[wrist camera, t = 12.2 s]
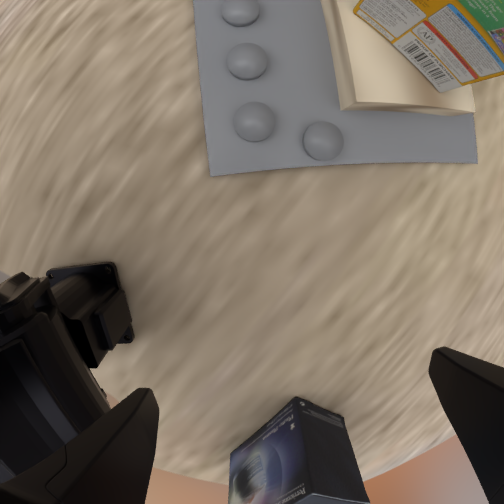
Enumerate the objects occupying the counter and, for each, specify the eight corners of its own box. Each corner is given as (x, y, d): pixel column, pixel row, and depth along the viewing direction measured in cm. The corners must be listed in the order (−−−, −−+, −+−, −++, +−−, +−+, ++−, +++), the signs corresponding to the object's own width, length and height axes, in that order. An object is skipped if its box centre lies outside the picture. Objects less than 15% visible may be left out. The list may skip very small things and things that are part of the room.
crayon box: (457, 68, 14) (594, 31, 3) (440, 94, 14) (592, 64, 3) (373, -11, 12) (469, -114, 1) (350, 11, 13) (449, -107, 2)
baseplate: (212, 176, 19) (209, 177, 18) (194, -7, 16) (190, -19, 14) (470, 163, 19) (484, 164, 18) (440, 7, 16) (451, 0, 14)
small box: (292, 392, 24) (312, 493, 14) (345, 415, 25) (376, 503, 15) (225, 452, 26) (222, 539, 16) (276, 470, 28) (285, 548, 17)
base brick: (340, 110, 17) (356, 101, 15) (319, -6, 15) (329, -27, 12) (451, 116, 17) (475, 112, 15) (427, 11, 15) (447, -3, 12)
